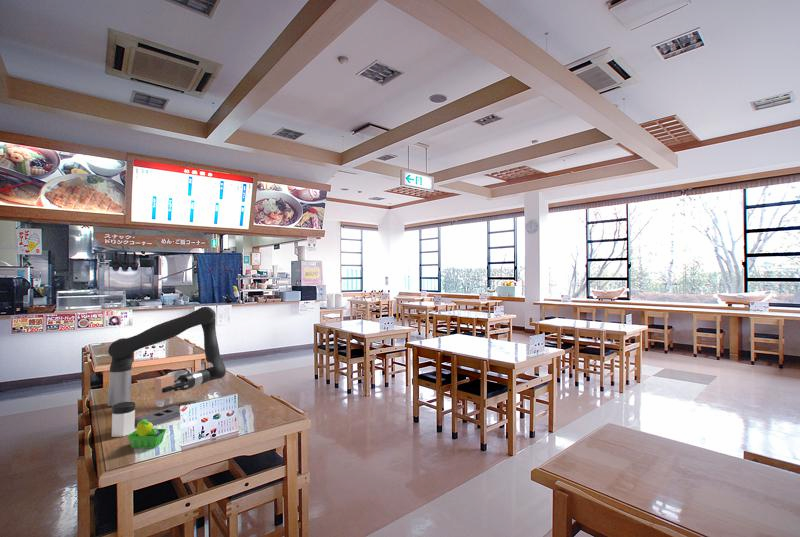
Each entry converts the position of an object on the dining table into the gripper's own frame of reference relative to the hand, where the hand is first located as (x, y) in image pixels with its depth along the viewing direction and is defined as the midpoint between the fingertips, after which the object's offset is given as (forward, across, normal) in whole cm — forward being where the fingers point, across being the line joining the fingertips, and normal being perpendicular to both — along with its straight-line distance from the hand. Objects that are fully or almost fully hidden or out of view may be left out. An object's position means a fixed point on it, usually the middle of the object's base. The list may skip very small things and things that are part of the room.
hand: (159, 390), depth 184 cm
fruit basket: (+21, +20, +14) cm, 32 cm away
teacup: (-46, -40, +14) cm, 63 cm away
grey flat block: (-2, 0, +14) cm, 14 cm away
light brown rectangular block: (-3, 0, +8) cm, 8 cm away
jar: (+16, -1, +14) cm, 21 cm away
